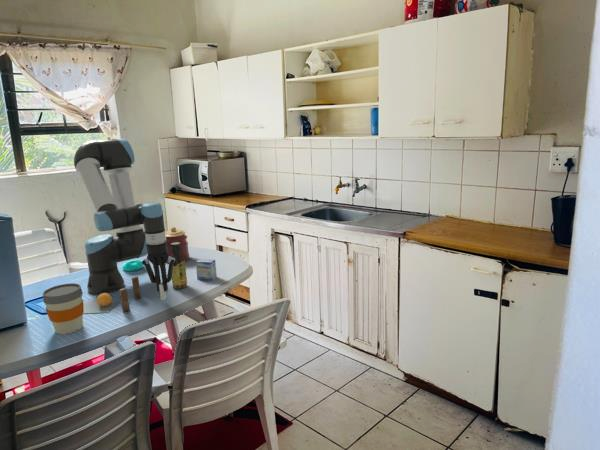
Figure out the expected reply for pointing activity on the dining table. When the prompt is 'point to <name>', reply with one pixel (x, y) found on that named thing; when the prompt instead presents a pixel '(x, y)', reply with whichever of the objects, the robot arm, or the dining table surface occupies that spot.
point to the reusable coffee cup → (64, 307)
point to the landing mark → (98, 306)
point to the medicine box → (206, 269)
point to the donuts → (132, 265)
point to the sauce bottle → (178, 267)
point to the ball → (104, 299)
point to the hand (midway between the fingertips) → (163, 298)
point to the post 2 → (136, 288)
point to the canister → (179, 237)
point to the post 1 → (124, 300)
